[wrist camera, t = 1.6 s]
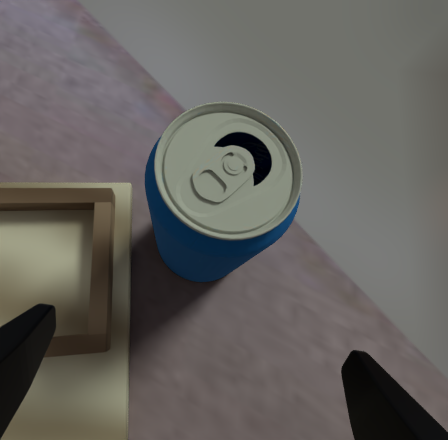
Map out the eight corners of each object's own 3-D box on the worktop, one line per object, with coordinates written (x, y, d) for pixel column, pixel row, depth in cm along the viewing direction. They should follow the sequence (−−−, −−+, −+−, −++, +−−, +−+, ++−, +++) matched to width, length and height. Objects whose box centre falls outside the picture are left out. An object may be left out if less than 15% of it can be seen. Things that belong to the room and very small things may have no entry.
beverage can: (261, 241, 23) (345, 174, 12) (199, 302, 21) (231, 291, 10) (202, 181, 24) (230, 65, 13) (137, 236, 22) (102, 155, 11)
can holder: (127, 474, 18) (120, 498, 16) (-114, 511, 16) (-164, 546, 14) (132, 188, 23) (127, 174, 21) (-51, 188, 21) (-79, 172, 19)
